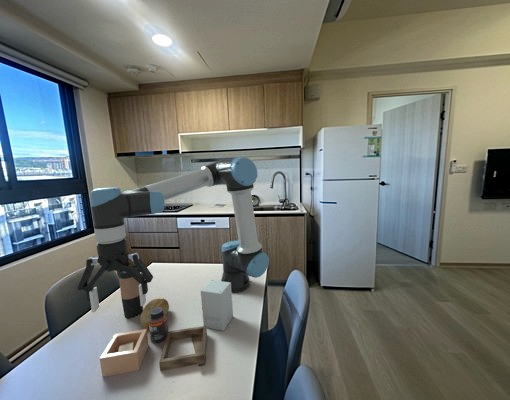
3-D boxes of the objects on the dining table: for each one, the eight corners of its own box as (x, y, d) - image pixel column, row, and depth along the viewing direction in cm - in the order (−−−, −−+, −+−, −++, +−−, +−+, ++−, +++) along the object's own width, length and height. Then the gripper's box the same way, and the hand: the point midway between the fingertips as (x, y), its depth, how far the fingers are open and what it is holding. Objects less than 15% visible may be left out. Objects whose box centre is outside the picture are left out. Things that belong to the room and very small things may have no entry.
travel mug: (135, 319, 92) (129, 273, 90) (119, 318, 94) (113, 272, 91) (147, 308, 100) (142, 265, 97) (132, 307, 101) (127, 264, 99)
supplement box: (233, 316, 92) (231, 281, 90) (224, 331, 83) (221, 293, 81) (214, 312, 95) (211, 279, 93) (202, 326, 86) (199, 290, 84)
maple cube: (134, 352, 74) (133, 341, 74) (133, 361, 71) (132, 350, 70) (120, 357, 72) (119, 346, 72) (119, 366, 69) (117, 355, 68)
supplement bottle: (167, 331, 85) (164, 303, 83) (170, 340, 80) (167, 311, 78) (149, 338, 82) (146, 309, 80) (152, 348, 77) (148, 318, 75)
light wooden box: (148, 347, 77) (146, 329, 76) (139, 372, 68) (136, 352, 67) (117, 352, 76) (114, 333, 75) (102, 379, 66) (99, 358, 65)
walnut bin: (206, 334, 82) (206, 325, 82) (205, 364, 69) (204, 354, 69) (169, 340, 80) (168, 331, 79) (160, 373, 67) (159, 362, 67)
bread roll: (174, 308, 100) (172, 291, 98) (162, 332, 85) (160, 312, 84) (151, 309, 99) (150, 292, 98) (136, 334, 84) (133, 314, 83)
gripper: (159, 233, 72) (165, 294, 75) (72, 240, 68) (82, 304, 71) (152, 239, 65) (159, 308, 68) (55, 248, 61) (66, 320, 64)
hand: (120, 306), depth 69 cm, fingers open, 13 cm apart
